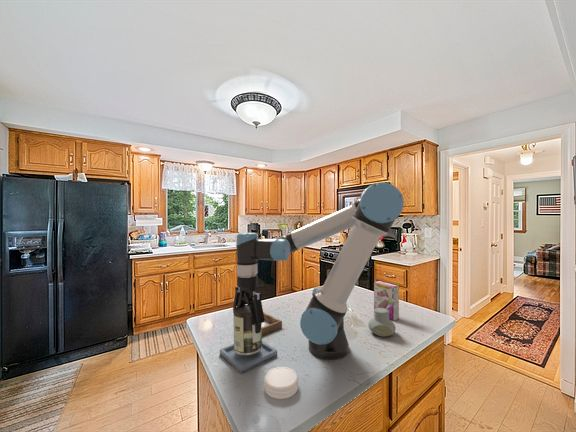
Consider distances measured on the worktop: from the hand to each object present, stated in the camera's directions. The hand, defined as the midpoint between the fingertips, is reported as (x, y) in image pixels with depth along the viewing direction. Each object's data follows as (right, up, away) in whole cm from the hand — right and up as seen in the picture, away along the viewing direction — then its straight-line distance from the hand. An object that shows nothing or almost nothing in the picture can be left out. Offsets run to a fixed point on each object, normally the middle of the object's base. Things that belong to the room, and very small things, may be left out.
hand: (248, 335), depth 90 cm
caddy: (+1, -7, +23) cm, 24 cm away
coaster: (+13, -7, -17) cm, 22 cm away
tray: (0, -7, 0) cm, 7 cm away
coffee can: (0, -5, 0) cm, 5 cm away
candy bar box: (+64, -6, +33) cm, 72 cm away
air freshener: (+55, -7, +15) cm, 57 cm away
